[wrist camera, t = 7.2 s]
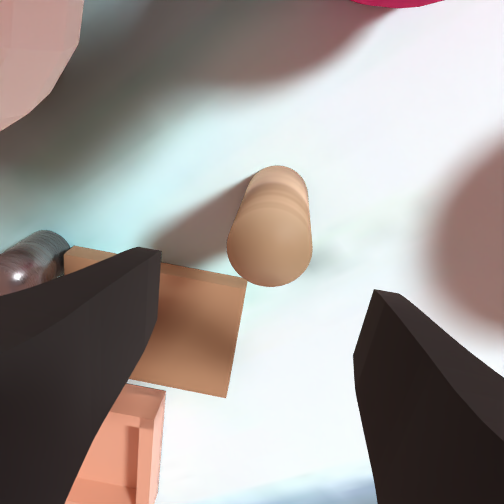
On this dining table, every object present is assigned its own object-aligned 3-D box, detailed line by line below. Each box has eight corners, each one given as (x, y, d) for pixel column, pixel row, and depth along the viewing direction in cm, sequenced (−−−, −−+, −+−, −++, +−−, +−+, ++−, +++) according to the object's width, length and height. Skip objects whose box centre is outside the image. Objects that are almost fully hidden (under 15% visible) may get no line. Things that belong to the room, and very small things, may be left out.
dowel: (301, 229, 20) (302, 293, 14) (242, 219, 20) (222, 278, 14) (313, 171, 18) (320, 216, 13) (251, 160, 18) (232, 201, 13)
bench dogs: (76, 365, 24) (38, 417, 21) (37, 357, 24) (-9, 408, 21) (71, 234, 21) (24, 270, 17) (25, 226, 21) (-32, 260, 17)
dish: (157, 492, 28) (147, 524, 26) (55, 472, 29) (37, 502, 27) (165, 391, 24) (154, 419, 22) (47, 368, 25) (25, 395, 23)
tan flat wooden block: (230, 378, 24) (225, 398, 23) (80, 348, 24) (67, 366, 23) (248, 274, 21) (245, 289, 20) (79, 241, 22) (63, 254, 20)
